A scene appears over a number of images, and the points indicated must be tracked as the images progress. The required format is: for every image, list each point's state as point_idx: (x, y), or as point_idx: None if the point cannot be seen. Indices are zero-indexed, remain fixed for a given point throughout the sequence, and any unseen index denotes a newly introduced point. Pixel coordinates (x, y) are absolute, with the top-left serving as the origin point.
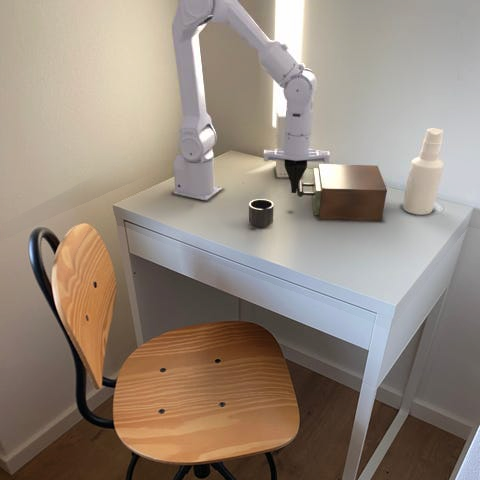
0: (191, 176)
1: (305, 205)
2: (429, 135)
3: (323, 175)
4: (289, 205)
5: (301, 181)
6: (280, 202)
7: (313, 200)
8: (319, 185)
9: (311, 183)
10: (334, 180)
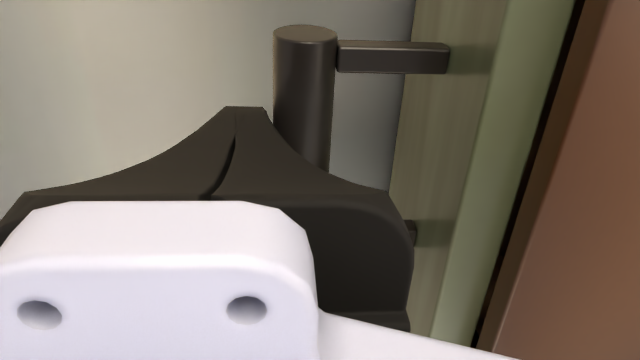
0: None
1: (345, 91)
2: None
3: (565, 231)
4: (226, 97)
5: (324, 41)
6: (150, 49)
7: (401, 176)
8: (464, 330)
9: (429, 54)
10: (623, 324)
